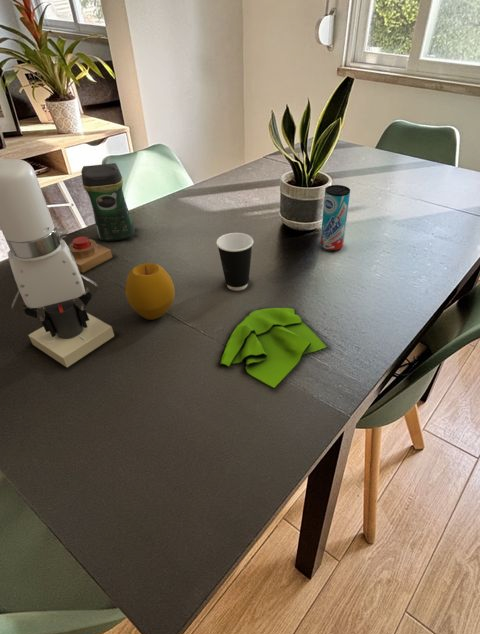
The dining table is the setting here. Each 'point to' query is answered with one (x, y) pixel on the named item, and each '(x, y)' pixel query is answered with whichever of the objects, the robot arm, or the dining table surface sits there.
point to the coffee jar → (108, 201)
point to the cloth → (270, 344)
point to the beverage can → (334, 217)
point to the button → (81, 243)
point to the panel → (73, 341)
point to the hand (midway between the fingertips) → (68, 327)
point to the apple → (149, 290)
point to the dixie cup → (235, 259)
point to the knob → (65, 319)
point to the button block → (90, 255)
